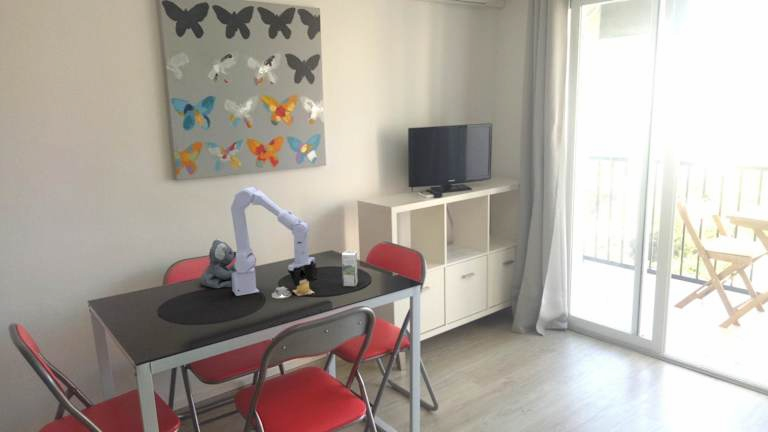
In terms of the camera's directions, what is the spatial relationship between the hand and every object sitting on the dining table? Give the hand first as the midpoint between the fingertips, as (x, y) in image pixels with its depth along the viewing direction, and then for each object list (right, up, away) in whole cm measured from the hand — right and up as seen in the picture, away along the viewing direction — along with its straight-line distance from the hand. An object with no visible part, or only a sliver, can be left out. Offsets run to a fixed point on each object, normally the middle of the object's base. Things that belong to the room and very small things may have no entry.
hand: (302, 282), depth 225 cm
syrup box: (+19, -2, +10) cm, 22 cm away
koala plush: (-37, -2, +14) cm, 40 cm away
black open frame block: (-2, -1, +19) cm, 19 cm away
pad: (0, -4, +1) cm, 4 cm away
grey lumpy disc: (-8, -5, -2) cm, 10 cm away
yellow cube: (0, -4, +1) cm, 4 cm away
